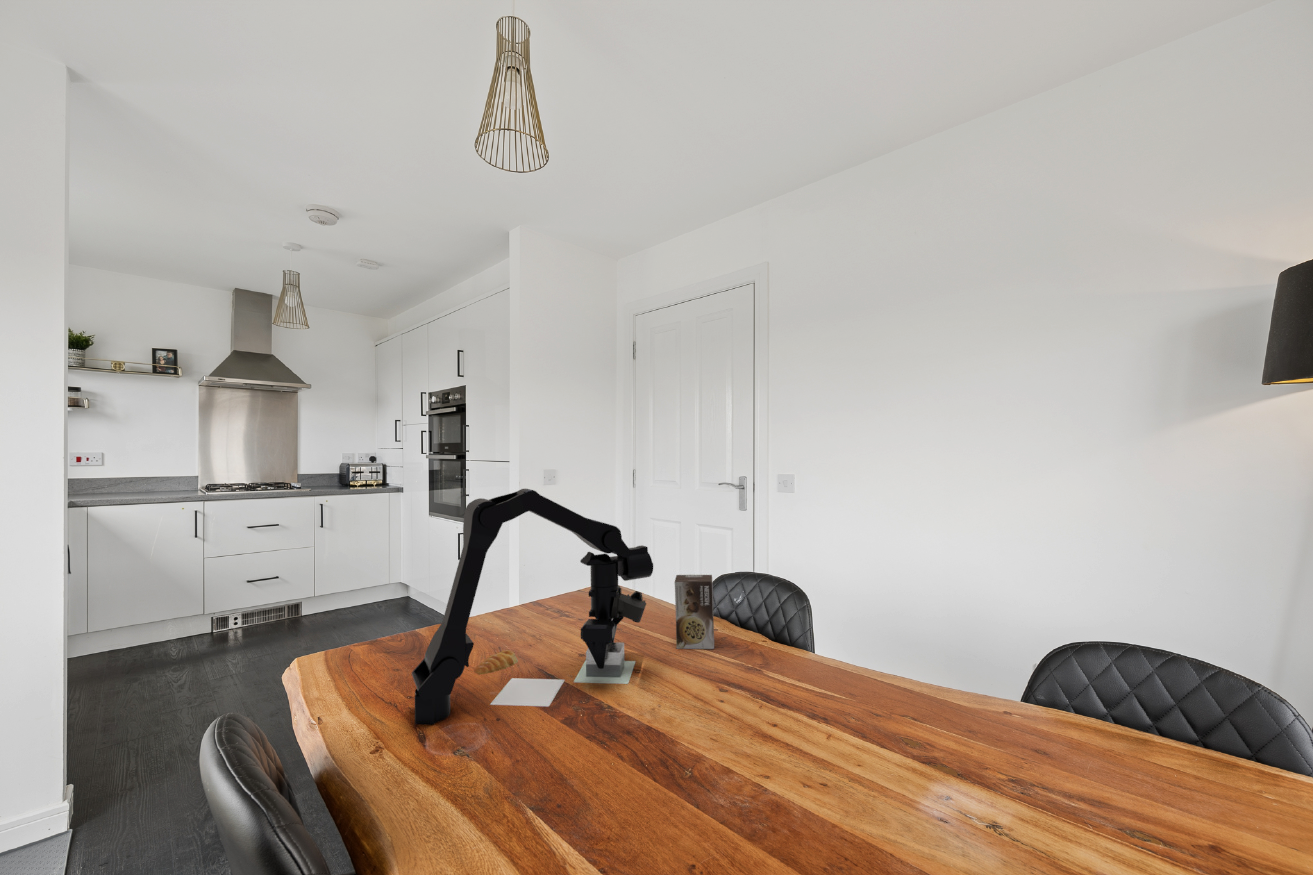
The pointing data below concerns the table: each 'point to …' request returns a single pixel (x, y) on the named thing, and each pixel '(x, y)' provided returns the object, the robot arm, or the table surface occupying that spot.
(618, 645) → the block
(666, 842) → the table surface
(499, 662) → the pastry
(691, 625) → the coffee box
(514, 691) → the stand
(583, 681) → the stand
